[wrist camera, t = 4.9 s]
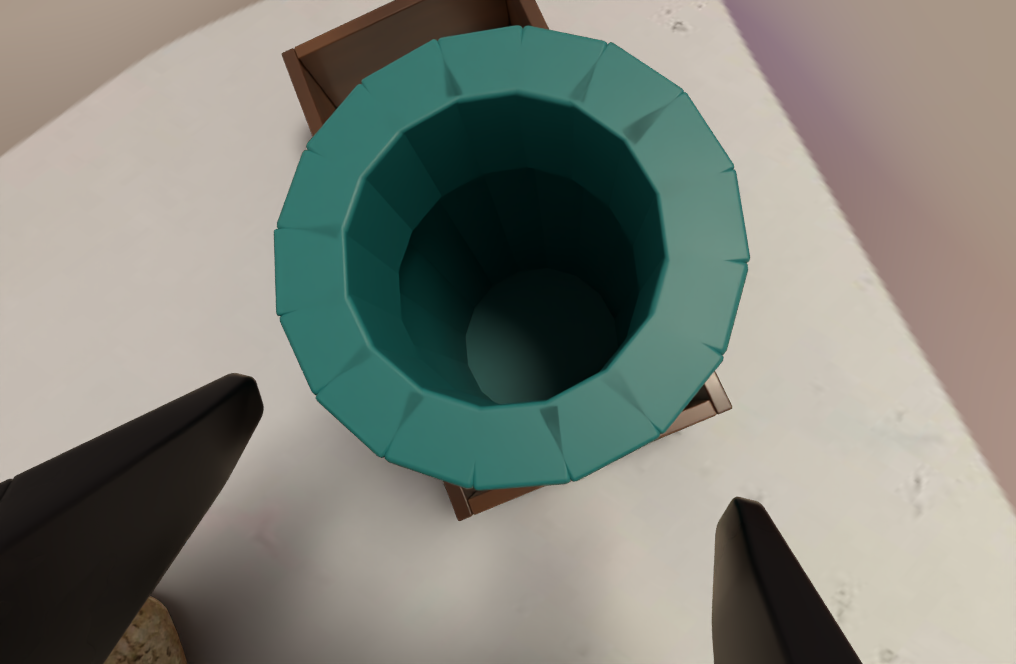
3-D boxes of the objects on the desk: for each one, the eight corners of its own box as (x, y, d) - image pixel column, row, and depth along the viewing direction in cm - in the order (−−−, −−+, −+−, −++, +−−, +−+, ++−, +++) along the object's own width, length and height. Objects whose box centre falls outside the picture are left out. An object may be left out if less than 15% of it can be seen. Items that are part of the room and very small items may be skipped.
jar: (664, 331, 20) (853, 199, 7) (554, 468, 19) (531, 599, 7) (529, 228, 21) (471, -54, 8) (423, 356, 20) (185, 283, 8)
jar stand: (519, 27, 22) (509, -55, 18) (698, 406, 19) (733, 408, 15) (330, 114, 22) (280, 53, 18) (479, 497, 20) (457, 522, 16)
